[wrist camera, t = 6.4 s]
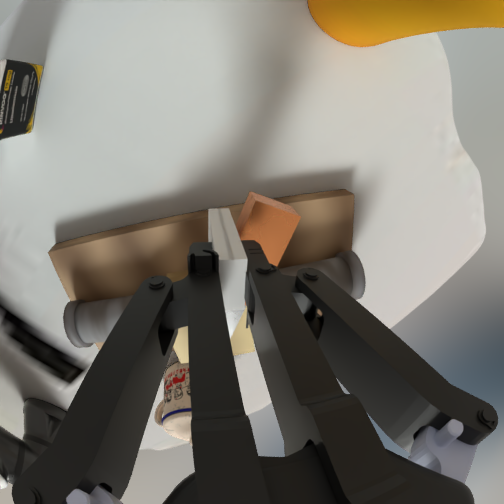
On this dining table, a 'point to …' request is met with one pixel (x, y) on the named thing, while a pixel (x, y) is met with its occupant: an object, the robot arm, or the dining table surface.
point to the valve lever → (264, 233)
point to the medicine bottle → (18, 96)
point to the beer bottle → (401, 18)
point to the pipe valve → (176, 267)
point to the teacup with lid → (176, 403)
